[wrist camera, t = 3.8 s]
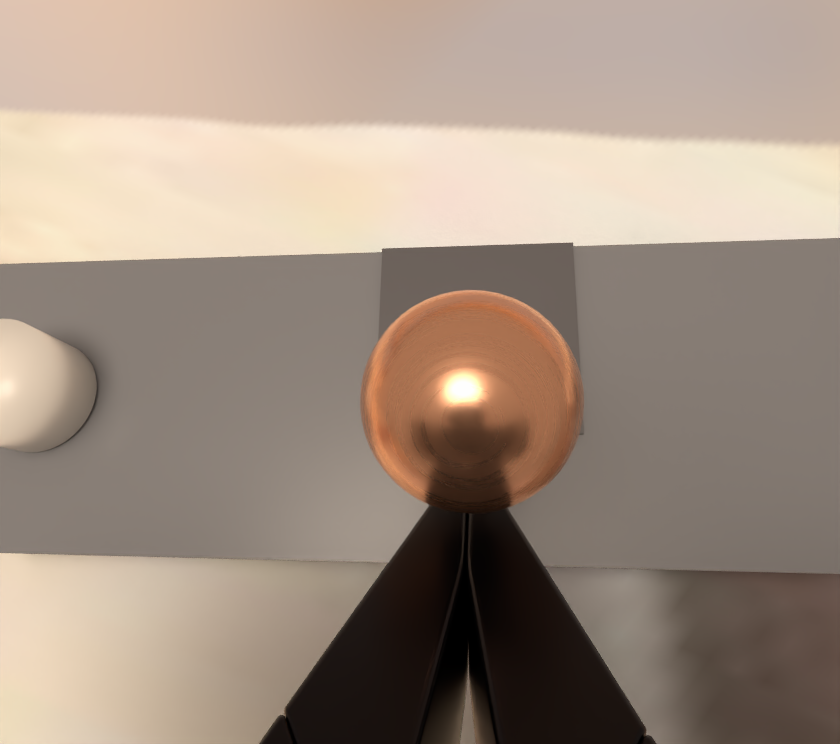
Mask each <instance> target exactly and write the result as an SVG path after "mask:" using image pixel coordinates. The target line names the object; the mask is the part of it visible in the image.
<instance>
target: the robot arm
mask: <svg viewBox="0 0 840 744" xmlns="http://www.w3.org/2000/svg"><path fill="white" fill-rule="evenodd" d="M468 650H469V680H470V692H471V702H472V712H473V721H474V730H475V739H476V744H656V743H655V741H654V740H653V738H652V737H651V736H649V735H647V736H645V735H646V728H645V726H644V724H643V723H642V721H641V720H640V718H639V716H638V715H637V713H636V712H635V710H634V708H633V707H632V705H631V704H630V702H629V700H628V699H627V697H626V696H625V694H624V692H623V691H622V689H621V688H620V686H619V685H618V683H617V681H616V680H615V678H614V677H613V675H612V673H611V672H610V670H609V669H608V667H607V665H606V664H605V662H604V661H603V659H602V657H601V656H600V654H599V653H598V651H597V649H596V648H595V646H594V645H593V643H592V642H591V640H590V638H589V637H588V635H587V634H586V632H585V630H584V629H583V627H582V626H581V624H580V622H579V621H578V619H577V618H576V616H575V614H574V613H573V611H572V610H571V608H570V606H569V605H568V603H567V602H566V600H565V599H564V597H563V595H562V594H561V592H560V591H559V589H558V587H557V586H556V584H555V583H554V581H553V579H552V578H551V576H550V575H549V573H548V571H547V570H546V568H545V567H544V565H543V564H542V562H541V560H540V559H539V557H538V556H537V554H536V552H535V551H534V549H533V548H532V546H531V544H530V543H529V541H528V540H527V538H526V536H525V535H524V533H523V532H522V530H521V528H520V527H519V525H518V524H517V522H516V521H515V519H514V517H513V516H512V514H511V513H510V511H509V509H508V508H506V509H502V510H499V511H494V512H488V513H476V514H468V513H456V512H451V511H446V510H442V509H439V508H436V507H433V506H430V505H429V506H428V508H427V509H426V511H425V512H424V513H423V515H422V516H421V518H420V519H419V520H418V522H417V523H416V525H415V526H414V527H413V529H412V530H411V532H410V533H409V534H408V536H407V537H406V539H405V540H404V541H403V543H402V544H401V546H400V547H399V548H398V550H397V551H396V553H395V554H394V555H393V557H392V558H391V560H390V561H389V563H388V564H387V565H386V567H385V568H384V570H383V571H382V572H381V574H380V575H379V577H378V578H377V579H376V581H375V582H374V584H373V585H372V586H371V588H370V589H369V591H368V592H367V593H366V595H365V596H364V598H363V599H362V600H361V602H360V603H359V605H358V606H357V607H356V609H355V610H354V612H353V613H352V614H351V616H350V617H349V619H348V620H347V621H346V623H345V624H344V626H343V627H342V628H341V630H340V631H339V633H338V634H337V635H336V637H335V638H334V640H333V641H332V642H331V644H330V645H329V647H328V648H327V649H326V651H325V652H324V654H323V655H322V656H321V658H320V659H319V661H318V662H317V664H316V665H315V666H314V668H313V669H312V671H311V672H310V673H309V675H308V676H307V678H306V679H305V680H304V682H303V683H302V685H301V686H300V687H299V689H298V690H297V692H296V693H295V694H294V696H293V697H292V699H291V700H290V701H289V703H288V704H287V706H286V707H285V709H284V714H285V716H283V715H280V716H279V717H278V718H277V719H276V720H275V722H274V723H273V725H272V726H271V727H270V729H269V730H268V732H267V733H266V735H265V736H264V737H263V739H262V740H261V742H260V743H259V744H460V736H461V729H462V721H463V713H464V705H465V697H466V687H467V677H468Z"/></svg>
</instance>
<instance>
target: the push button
mask: <svg viewBox="0 0 840 744" xmlns="http://www.w3.org/2000/svg"><path fill="white" fill-rule="evenodd" d="M96 390H97V381H96V375H95V371H94V368H93V366H92V364H91V362H90V361H89V359H88V358H87V357H86V356H85V355H84V354H83V353H82V352H81V351H79V350H78V349H76V348H74V347H72V346H70V345H68V344H66V343H64V342H62V341H60V340H58V339H56V338H54V337H52V336H50V335H48V334H46V333H44V332H42V331H40V330H38V329H36V328H34V327H32V326H30V325H28V324H26V323H24V322H21V321H18V320H13V319H0V447H3V448H8V449H12V450H17V451H22V452H41V451H46V450H49V449H52V448H54V447H56V446H58V445H60V444H62V443H64V442H65V441H67V440H68V439H69V438H70V437H72V436H73V435H74V434H75V433H76V432H77V431H78V430H79V429H80V428H81V426H82V425H83V424H84V422H85V421H86V419H87V418H88V416H89V414H90V412H91V410H92V407H93V405H94V401H95V397H96Z"/></svg>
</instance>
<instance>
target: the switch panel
mask: <svg viewBox="0 0 840 744" xmlns="http://www.w3.org/2000/svg"><path fill="white" fill-rule="evenodd" d="M463 290H482V291H489V292H495V293H499V294H503V295H506V296H509V297H512V298H514V299H517V300H519V301H521V302H523V303H525V304H527V305H528V306H530V307H532V308H533V309H535V310H536V311H538V312H539V313H540V314H542V315H543V316H544V317H545V318H546V319H547V320H549V321H550V322H551V323H552V325H553V326H554V327H555V328H556V329H557V330H558V331H559V332H560V334H561V335H562V337H563V338H564V340H565V341H566V343H567V344H568V346H569V347H570V349H571V351H572V353H573V355H574V357H575V359H576V362H577V365H578V368H579V371H580V374H581V379H582V384H583V390H584V411H583V421H582V425H581V430H580V434H579V437H578V440H577V442H576V445H575V448H574V450H573V452H572V454H571V455H570V457H569V459H568V461H567V462H566V464H565V465H564V467H563V468H562V469H561V471H560V472H559V473H558V474H557V476H556V477H555V478H554V479H553V480H552V481H551V482H550V483H549V484H548V485H546V486H545V487H544V488H543V489H542V490H540V491H539V492H538V493H536V494H535V495H533V496H532V497H530V498H528V499H527V500H525V501H523V502H521V503H519V504H516V505H514V506H512V507H509V508H508V509H509V511H510V513H511V514H512V516H513V517H514V519H515V521H516V522H517V524H518V525H519V527H520V528H521V530H522V532H523V533H524V535H525V536H526V538H527V540H528V541H529V543H530V544H531V546H532V548H533V549H534V551H535V552H536V554H537V556H538V557H539V559H540V560H541V562H542V564H543V565H544V567H582V568H622V569H662V570H702V571H742V572H781V573H821V574H840V238H829V239H796V240H764V241H732V242H700V243H667V244H635V245H603V246H573V243H547V244H515V245H484V246H452V247H421V248H389V249H382V252H377V253H345V254H312V255H280V256H248V257H215V258H183V259H151V260H119V261H86V262H54V263H22V264H0V319H13V320H18V321H21V322H24V323H26V324H28V325H30V326H32V327H34V328H36V329H38V330H40V331H42V332H44V333H46V334H48V335H50V336H52V337H54V338H56V339H58V340H60V341H62V342H64V343H66V344H68V345H70V346H72V347H74V348H76V349H78V350H79V351H81V352H82V353H83V354H84V355H85V356H86V357H87V358H88V359H89V361H90V362H91V364H92V366H93V368H94V371H95V375H96V381H97V390H96V397H95V401H94V405H93V407H92V410H91V412H90V414H89V416H88V418H87V419H86V421H85V422H84V424H83V425H82V426H81V428H80V429H79V430H78V431H77V432H76V433H75V434H74V435H73V436H72V437H70V438H69V439H68V440H67V441H65V442H64V443H62V444H60V445H58V446H56V447H54V448H52V449H49V450H46V451H41V452H22V451H17V450H12V449H8V448H3V447H0V553H24V554H64V555H103V556H143V557H183V558H223V559H263V560H303V561H343V562H383V563H389V561H390V560H391V558H392V557H393V555H394V554H395V553H396V551H397V550H398V548H399V547H400V546H401V544H402V543H403V541H404V540H405V539H406V537H407V536H408V534H409V533H410V532H411V530H412V529H413V527H414V526H415V525H416V523H417V522H418V520H419V519H420V518H421V516H422V515H423V513H424V512H425V511H426V509H427V508H428V506H429V505H428V504H426V503H424V502H422V501H420V500H418V499H416V498H415V497H413V496H412V495H410V494H408V493H407V492H406V491H404V490H403V489H402V488H401V487H400V486H398V485H397V484H396V483H395V482H394V481H393V480H392V479H391V478H390V477H389V476H388V474H387V473H386V472H385V471H384V470H383V468H382V467H381V465H380V464H379V463H378V461H377V460H376V458H375V456H374V454H373V452H372V451H371V449H370V447H369V444H368V441H367V439H366V436H365V433H364V429H363V424H362V420H361V410H360V394H361V384H362V378H363V374H364V370H365V367H366V364H367V361H368V359H369V357H370V354H371V352H372V350H373V348H374V347H375V345H376V343H377V342H378V340H379V339H380V337H381V336H382V335H383V333H384V332H385V331H386V330H387V329H388V327H389V326H390V325H391V324H392V323H393V322H394V321H395V320H396V319H397V318H398V317H400V316H401V315H402V314H403V313H405V312H406V311H407V310H409V309H410V308H412V307H413V306H415V305H417V304H419V303H421V302H422V301H424V300H426V299H429V298H432V297H434V296H437V295H440V294H444V293H449V292H453V291H463Z"/></svg>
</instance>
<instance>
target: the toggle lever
mask: <svg viewBox="0 0 840 744" xmlns="http://www.w3.org/2000/svg"><path fill="white" fill-rule="evenodd" d="M360 410H361V420H362V424H363V429H364V433H365V436H366V439H367V441H368V444H369V447H370V449H371V451H372V452H373V454H374V456H375V458H376V460H377V461H378V463H379V464H380V465H381V467H382V468H383V470H384V471H385V472H386V473H387V474H388V476H389V477H390V478H391V479H392V480H393V481H394V482H395V483H396V484H397V485H398V486H400V487H401V488H402V489H403V490H404V491H406V492H407V493H408V494H410V495H412V496H413V497H415V498H416V499H418V500H420V501H422V502H424V503H426V504H428V505H430V506H433V507H436V508H439V509H442V510H446V511H451V512H456V513H468V514H476V513H488V512H494V511H499V510H502V509H506V508H509V507H512V506H514V505H516V504H519V503H521V502H523V501H525V500H527V499H528V498H530V497H532V496H533V495H535V494H536V493H538V492H539V491H540V490H542V489H543V488H544V487H545V486H546V485H548V484H549V483H550V482H551V481H552V480H553V479H554V478H555V477H556V476H557V474H558V473H559V472H560V471H561V469H562V468H563V467H564V465H565V464H566V462H567V461H568V459H569V457H570V455H571V454H572V452H573V450H574V448H575V445H576V442H577V440H578V437H579V434H580V430H581V425H582V421H583V411H584V390H583V384H582V379H581V374H580V371H579V368H578V365H577V362H576V359H575V357H574V355H573V353H572V351H571V349H570V347H569V346H568V344H567V343H566V341H565V340H564V338H563V337H562V335H561V334H560V332H559V331H558V330H557V329H556V328H555V327H554V326H553V325H552V323H551V322H550V321H549V320H547V319H546V318H545V317H544V316H543V315H542V314H540V313H539V312H538V311H536V310H535V309H533V308H532V307H530V306H528V305H527V304H525V303H523V302H521V301H519V300H517V299H514V298H512V297H509V296H506V295H503V294H499V293H495V292H489V291H482V290H463V291H453V292H449V293H444V294H440V295H437V296H434V297H432V298H429V299H426V300H424V301H422V302H421V303H419V304H417V305H415V306H413V307H412V308H410V309H409V310H407V311H406V312H405V313H403V314H402V315H401V316H400V317H398V318H397V319H396V320H395V321H394V322H393V323H392V324H391V325H390V326H389V327H388V329H387V330H386V331H385V332H384V333H383V335H382V336H381V337H380V339H379V340H378V342H377V343H376V345H375V347H374V348H373V350H372V352H371V354H370V357H369V359H368V361H367V364H366V367H365V370H364V374H363V378H362V384H361V394H360Z"/></svg>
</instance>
